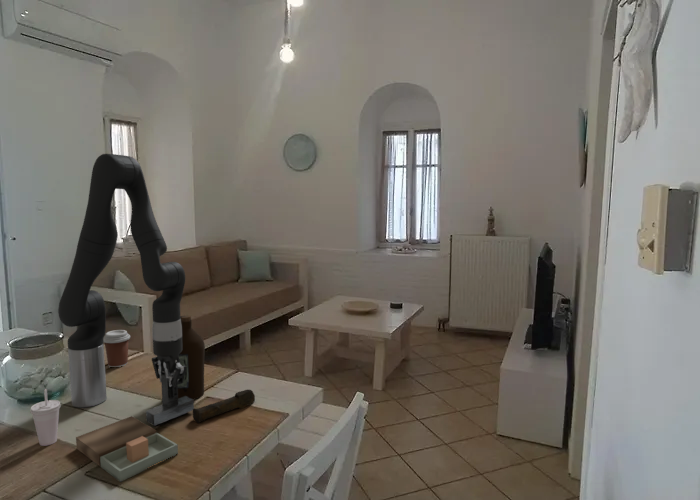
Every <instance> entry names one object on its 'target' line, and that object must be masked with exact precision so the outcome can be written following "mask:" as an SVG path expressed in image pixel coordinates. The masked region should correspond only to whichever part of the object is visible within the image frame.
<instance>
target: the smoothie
mask: <svg viewBox="0 0 700 500" xmlns="http://www.w3.org/2000/svg"><path fill="white" fill-rule="evenodd" d="M43 393H44V394H43V396H44V401H40V402H37V403H35V404H33V405H32V406H30V411H29V412H30V414H31V415H32V418H33V422H34V427H35V430H36V431H35V432H36V434H37V438H38V443H39V445H40V446H42V447H44V446H50V445H53V444H55V443H56V442H57V441H58V430H59V429H58V428H59V417H60V408H61V406H62V405H61V401H59V400H58V399H49V400H48V389H47V388H45V389H44V390H43Z"/></svg>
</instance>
